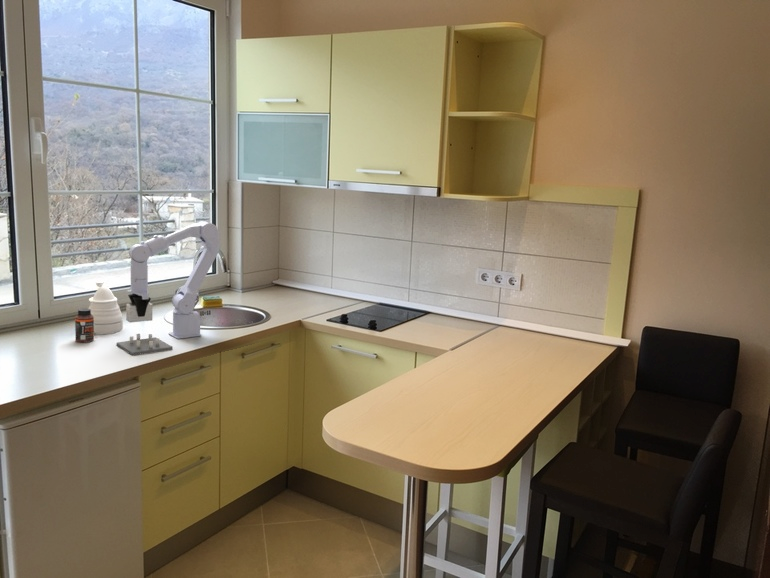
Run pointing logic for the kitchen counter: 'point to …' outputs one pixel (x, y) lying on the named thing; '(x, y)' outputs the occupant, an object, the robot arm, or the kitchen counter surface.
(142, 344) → the pin tray
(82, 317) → the supplement bottle
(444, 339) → the kitchen counter surface
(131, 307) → the block
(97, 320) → the honey pot
